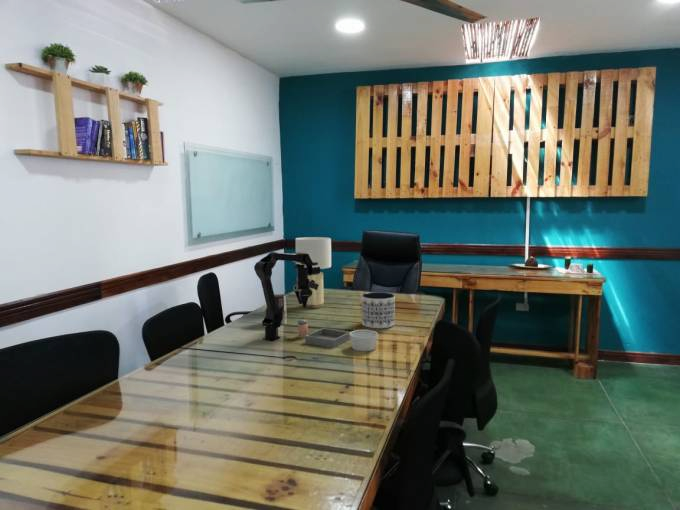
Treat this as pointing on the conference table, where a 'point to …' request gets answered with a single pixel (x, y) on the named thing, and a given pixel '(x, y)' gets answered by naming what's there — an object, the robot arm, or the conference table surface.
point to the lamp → (322, 254)
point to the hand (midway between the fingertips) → (302, 305)
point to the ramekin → (363, 340)
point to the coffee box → (281, 305)
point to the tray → (327, 337)
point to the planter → (378, 310)
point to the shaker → (302, 328)
